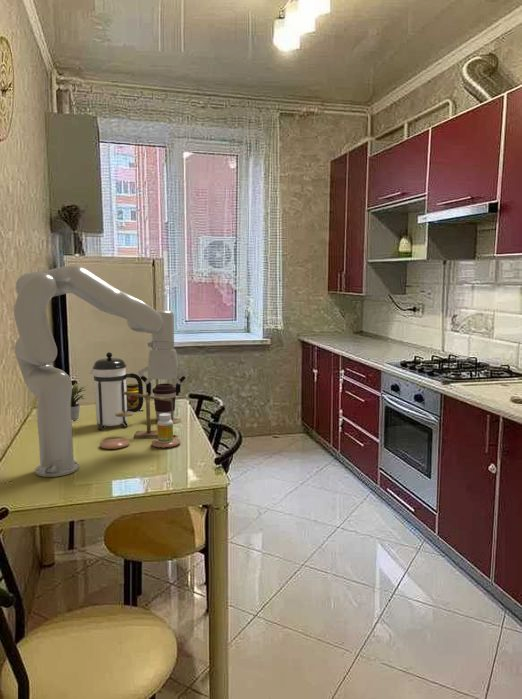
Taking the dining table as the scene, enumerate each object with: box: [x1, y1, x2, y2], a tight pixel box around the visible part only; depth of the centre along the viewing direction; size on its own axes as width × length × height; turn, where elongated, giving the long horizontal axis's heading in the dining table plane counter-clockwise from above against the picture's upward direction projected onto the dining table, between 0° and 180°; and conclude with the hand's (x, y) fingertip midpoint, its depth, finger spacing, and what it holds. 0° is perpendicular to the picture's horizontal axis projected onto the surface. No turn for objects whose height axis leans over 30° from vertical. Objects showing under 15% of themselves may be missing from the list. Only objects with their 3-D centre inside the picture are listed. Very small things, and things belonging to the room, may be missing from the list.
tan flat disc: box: [151, 437, 182, 449], centre depth 187 cm, size 10×10×1 cm
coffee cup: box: [151, 382, 176, 422], centre depth 221 cm, size 10×10×15 cm
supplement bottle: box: [156, 413, 174, 443], centre depth 186 cm, size 5×5×10 cm
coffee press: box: [89, 351, 144, 431], centre depth 211 cm, size 17×16×30 cm
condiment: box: [126, 383, 139, 409], centre depth 239 cm, size 7×8×12 cm
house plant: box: [71, 382, 89, 421], centre depth 221 cm, size 14×14×16 cm
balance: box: [115, 392, 182, 439], centre depth 197 cm, size 24×7×17 cm, turn 93°
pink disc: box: [99, 437, 130, 450], centre depth 186 cm, size 10×10×1 cm
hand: (163, 394), depth 184 cm, fingers open, 9 cm apart
